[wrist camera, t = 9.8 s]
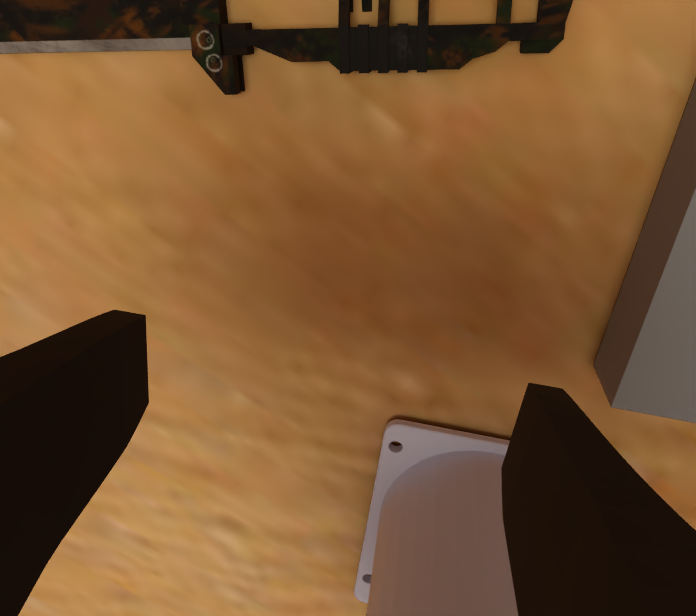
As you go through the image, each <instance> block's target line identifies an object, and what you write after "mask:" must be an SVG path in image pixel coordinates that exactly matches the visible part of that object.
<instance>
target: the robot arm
mask: <svg viewBox="0 0 696 616" xmlns="http://www.w3.org/2000/svg"><path fill="white" fill-rule="evenodd" d="M148 403H149V395H148V368H147V342H146V315H142V314H136V313H130V312H125V311H119V310H112V311H109V312H106V313H103V314H101V315H98V316H96V317H93V318H91V319H88V320H86V321H84V322H81V323H79V324H77V325H75V326H72V327H70V328H68V329H65V330H63V331H61V332H59V333H56V334H54V335H52V336H49V337H47V338H45V339H43V340H40V341H38V342H36V343H33V344H31V345H29V346H26V347H24V348H22V349H19V350H17V351H15V352H12V353H10V354H7V355H5V356H2V357H0V616H18V614H19V613H20V611H21V609H22V607H23V605H24V604H25V602H26V600H27V598H28V596H29V595H30V593H31V591H32V589H33V587H34V586H35V584H36V582H37V580H38V578H39V577H40V575H41V573H42V571H43V569H44V568H45V566H46V564H47V563H48V561H49V560H50V558H51V556H52V555H53V553H54V552H55V550H56V549H57V547H58V545H59V544H60V542H61V541H62V539H63V538H64V537H65V535H66V534H67V532H68V531H69V529H70V528H71V527H72V525H73V524H74V522H75V521H76V519H77V518H78V517H79V515H80V514H81V512H82V511H83V509H84V508H85V507H86V505H87V504H88V502H89V501H90V499H91V498H92V497H93V495H94V494H95V492H96V491H97V489H98V488H99V487H100V485H101V484H102V482H103V481H104V479H105V478H106V476H107V475H108V474H109V472H110V471H111V469H112V468H113V466H114V465H115V463H116V462H117V460H118V459H119V457H120V456H121V454H122V453H123V451H124V450H125V448H126V447H127V445H128V443H129V441H130V439H131V438H132V436H133V434H134V432H135V430H136V428H137V426H138V424H139V422H140V420H141V418H142V416H143V414H144V412H145V410H146V407H147V405H148ZM392 441H397V442H400V443H401V444H402V445H400V446H394V445H392V444H391V442H392ZM366 574H370V575H372V576H368V575H366ZM354 596H355V597H356V598H357V599H358V600H359V601H361V602H364V603H368V605H367V613H366V616H696V530H695V529H693V528H692V527H691V526H690V525H689V524H688V523H687V522H686V521H685V520H684V519H683V518H682V517H680V516H679V515H678V514H677V513H676V512H675V511H674V510H673V509H672V508H671V507H670V506H669V505H668V504H667V503H666V502H665V501H664V500H663V499H662V498H661V497H660V496H659V495H658V494H657V493H656V492H655V491H654V490H653V489H652V488H651V487H650V486H649V485H648V484H647V483H646V482H645V481H644V480H643V479H642V478H641V477H640V476H639V474H638V473H637V472H636V471H635V470H634V469H633V468H632V467H631V466H630V465H629V464H628V463H627V462H626V460H625V459H624V458H623V457H622V456H621V455H620V454H619V453H618V452H617V450H616V449H615V448H614V447H613V446H612V445H611V444H610V443H609V441H608V440H607V439H606V438H605V437H604V436H603V435H602V433H601V432H600V431H599V430H598V429H597V427H596V426H595V425H594V424H593V423H592V422H591V420H590V419H589V418H588V417H587V416H586V415H585V413H584V412H583V411H582V410H581V409H580V408H579V406H578V405H577V404H576V403H575V402H574V401H573V400H572V398H571V397H570V396H569V395H568V394H567V393H566V392H565V391H564V390H563V389H561V388H556V387H550V386H544V385H539V384H533V383H528V386H527V389H526V392H525V395H524V399H523V402H522V405H521V408H520V411H519V414H518V417H517V420H516V424H515V427H514V430H513V433H512V436H511V439H510V441H509V440H504V439H499V438H494V437H489V436H484V435H478V434H473V433H468V432H463V431H458V430H452V429H447V428H442V427H437V426H432V425H426V424H421V423H416V422H411V421H406V420H400V419H395V420H392V421H390V422H389V423H387V425H386V427H385V431H384V436H383V441H382V447H381V452H380V457H379V462H378V468H377V473H376V478H375V483H374V488H373V494H372V499H371V504H370V509H369V514H368V520H367V525H366V530H365V535H364V541H363V546H362V551H361V556H360V561H359V567H358V572H357V577H356V582H355V588H354Z"/></svg>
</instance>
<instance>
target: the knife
mask: <svg viewBox="0 0 696 616" xmlns="http://www.w3.org/2000/svg"><path fill="white" fill-rule="evenodd" d="M572 1H573V0H539V1H538V12H537V22H536V23H512V24H510V20H511V7H512V0H498V4H497V17H496V24H472V25H432V26H428V19H429V0H419V2H418V26H408V24H398V26H392V27H389V3H390V0H379V8H378V27H369V25H358V27H351V28H350V12H353V0H339V25H338V26H339V28H311V29H271V30H261V29H257V30H252V23H234V24H228V17H227V7H226V0H0V54H1V53H49V52H97V51H146V50H192V56H193V57H194V59H195V60H196V61H197V62H198V63H199V65H200V66H201V67H202V68H203V69H204V70H205V72H206V73H207V74H208V75H209V76H210V78H211V79H212V80H213V81H214V82H215V83H216V85H217V86H218V87H219V88H220V89H221V90H222V92H223V93H224V94H225V95H236V94H239V93H241V92H240V91H245V85H244V74H243V62H242V55H249V54H254V47H253V46H255V47H257V48H260V49H262V50H265V51H267V52H269V53H272V54H274V55H276V56H279V57H281V58H284V59H286V60H288V61H291V62H316V61H329V62H330V63H331V64H332V65H334V66H335V67H336V68H337V69H338V70H340V74H342V73H351V72H353V71H359V73H369V72H371V71H372V70H378V73H388V72H389V71H390V70H397V73H407V72H408V70H417V72H427V70H438V69H460V68H461V67H463V66H464V65H465V64H466V63H468V62H469V61H470V60H472V59H473V58H477V57H480V56H483V55H486V54H489V53H492V52H495V51H496V50H498V49H499V48H500V47H501V46H503V45H504V44H505V43H507V42H508V41H521V43H520V53H549V52H550V51H551V50H553V49H554V48H555V47H556V46H557V45H558V44H559V43H560V42H561V41H562V40H563V39H564V31H565V22H566V19H567V16H568V14H569V11H570V8H571V5H572ZM370 11H372V0H362V12H370Z"/></svg>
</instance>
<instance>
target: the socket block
mask: <svg viewBox="0 0 696 616" xmlns="http://www.w3.org/2000/svg"><path fill="white" fill-rule="evenodd" d="M594 368H595V370H596V373H597V375H598V377H599V380H600V382H601V384H602V387H603V389H604V392H605V394H606V396H607V399H608V401H609V404H610V406H611V407H612V408H618V409H623V410H628V411H634V412H639V413H645V414H650V415H655V416H661V417H666V418H671V419H677V420H682V421H687V422H693V423H696V80H695V83H694V85H693V88H692V91H691V94H690V97H689V99H688V102H687V105H686V108H685V111H684V113H683V116H682V119H681V122H680V125H679V127H678V130H677V133H676V136H675V139H674V141H673V144H672V147H671V150H670V153H669V155H668V158H667V161H666V164H665V167H664V169H663V172H662V175H661V178H660V181H659V183H658V186H657V189H656V192H655V195H654V197H653V200H652V203H651V206H650V209H649V211H648V214H647V217H646V220H645V223H644V225H643V228H642V231H641V234H640V237H639V239H638V242H637V245H636V248H635V251H634V253H633V256H632V259H631V262H630V265H629V267H628V270H627V273H626V276H625V279H624V281H623V284H622V287H621V290H620V293H619V295H618V298H617V301H616V304H615V307H614V309H613V312H612V315H611V318H610V320H609V323H608V326H607V329H606V332H605V334H604V337H603V340H602V343H601V346H600V348H599V351H598V354H597V357H596V360H595V362H594Z"/></svg>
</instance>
